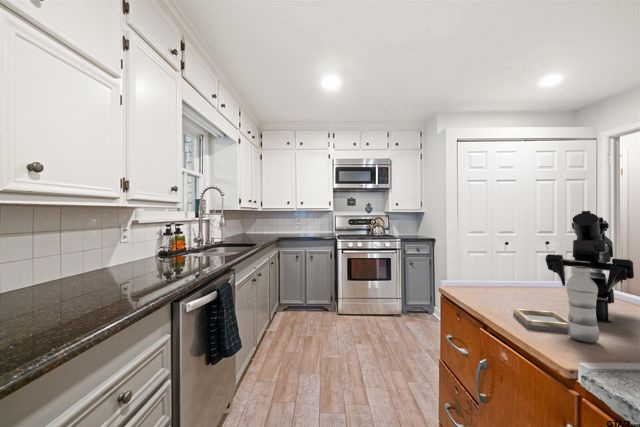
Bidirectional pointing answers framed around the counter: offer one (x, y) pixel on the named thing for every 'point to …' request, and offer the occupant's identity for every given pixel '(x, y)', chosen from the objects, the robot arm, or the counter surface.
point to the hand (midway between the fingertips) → (584, 288)
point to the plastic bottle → (582, 306)
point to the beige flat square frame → (541, 320)
